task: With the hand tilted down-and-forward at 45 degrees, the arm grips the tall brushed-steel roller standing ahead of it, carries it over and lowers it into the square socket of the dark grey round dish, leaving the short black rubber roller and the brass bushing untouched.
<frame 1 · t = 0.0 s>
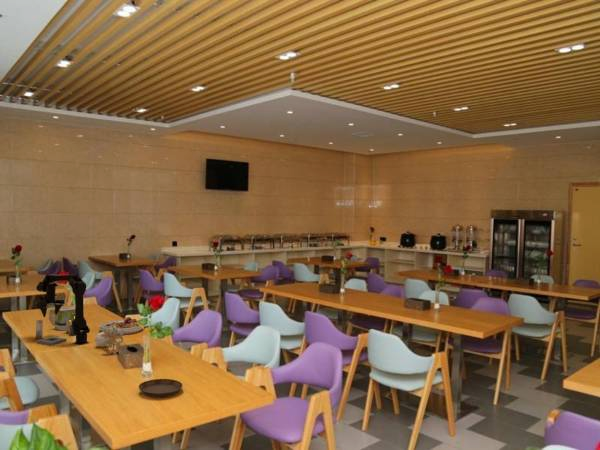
hand: (50, 316, 340), 15 cm above the table, tool pointing down, fingers open, 9 cm apart
brass bushing: (69, 333, 355), on the table
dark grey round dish: (52, 342, 328), on the table
plant saucer: (160, 392, 246), on the table
bowl: (121, 331, 367), on the table
flower vase: (107, 350, 316), on the table
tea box: (68, 328, 369), on the table
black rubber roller: (73, 335, 349), on the table
steel roller: (39, 338, 338), on the table
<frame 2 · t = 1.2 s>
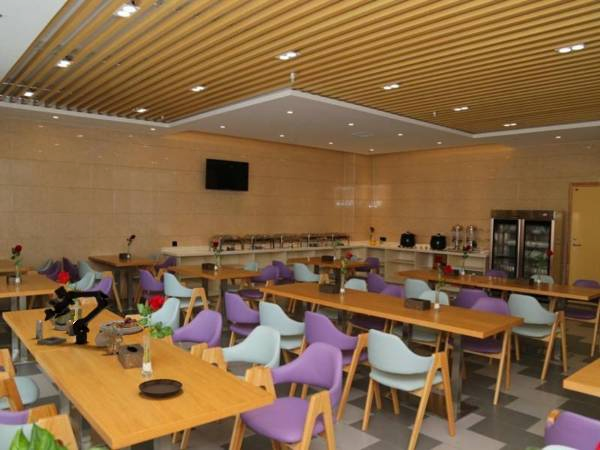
hand: (49, 319, 335), 13 cm above the table, tool tilted 45°, fingers open, 9 cm apart
nothing on the table moved.
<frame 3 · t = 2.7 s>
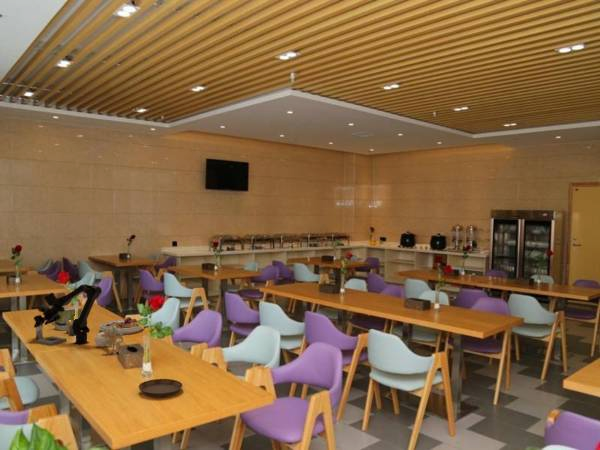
hand: (39, 325, 337), 8 cm above the table, tool tilted 45°, fingers open, 9 cm apart
nothing on the table moved.
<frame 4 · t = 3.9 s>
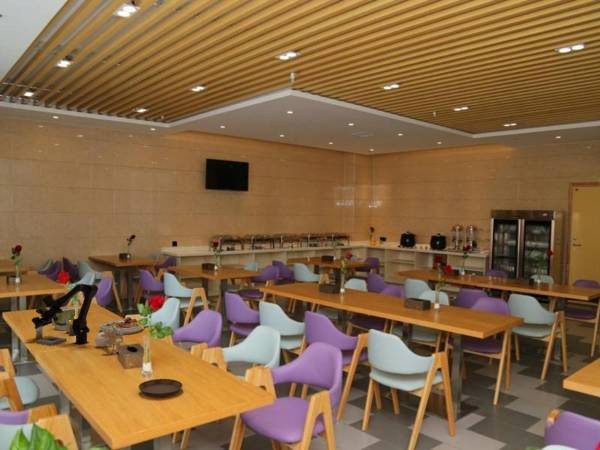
hand: (37, 327, 338), 7 cm above the table, tool tilted 45°, fingers closed on steel roller, 4 cm apart
steel roller: (39, 338, 338), on the table, touching gripper
everything else where it was.
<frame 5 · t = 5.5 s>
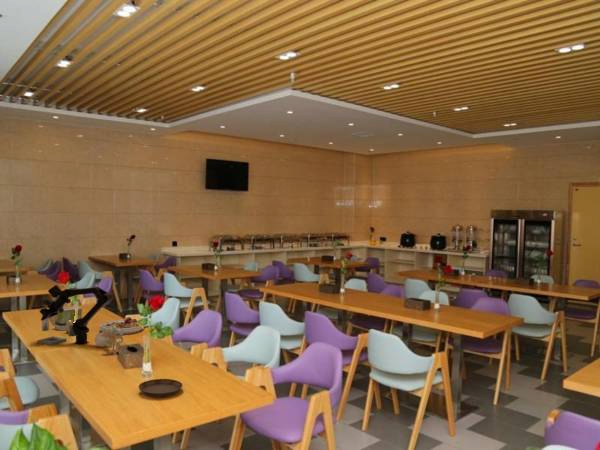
hand: (43, 319, 332), 14 cm above the table, tool tilted 45°, fingers closed on steel roller, 4 cm apart
steel roller: (45, 330, 332), point 7 cm above the table, touching gripper
everything else where it was.
when the fingers open (8 cm above the table, at t = 7.5 s): steel roller drops 1 cm, resting in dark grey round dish.
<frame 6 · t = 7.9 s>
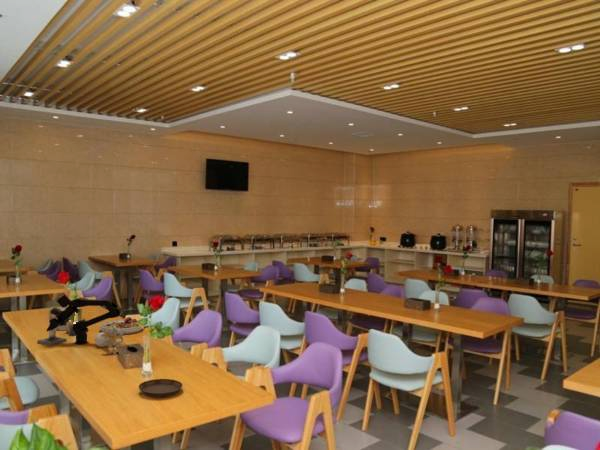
hand: (50, 329, 328), 9 cm above the table, tool tilted 45°, fingers open, 9 cm apart
steel roller: (52, 342, 328), resting in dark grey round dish
everything else where it was.
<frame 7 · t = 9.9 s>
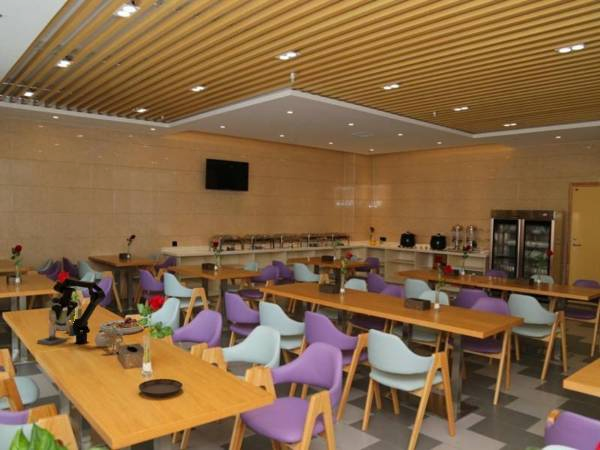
hand: (62, 318, 336), 14 cm above the table, tool pointing down, fingers open, 9 cm apart
nothing on the table moved.
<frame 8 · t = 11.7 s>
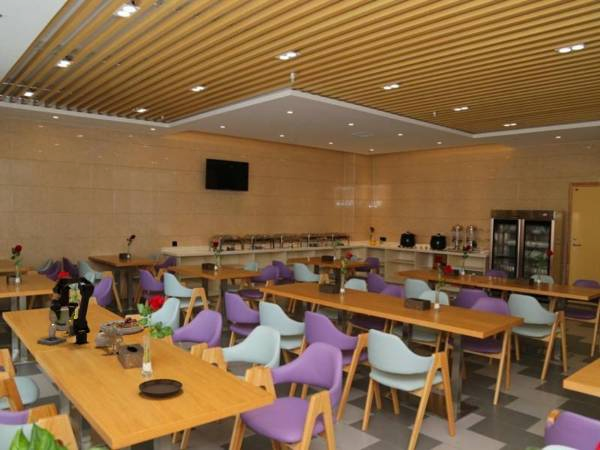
hand: (64, 318, 340), 13 cm above the table, tool pointing down, fingers open, 9 cm apart
nothing on the table moved.
at the end: steel roller 0.1 cm off-centre on the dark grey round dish, point 0.0 cm above the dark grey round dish's base; steel roller tilted 0°; the gripper is holding nothing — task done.
